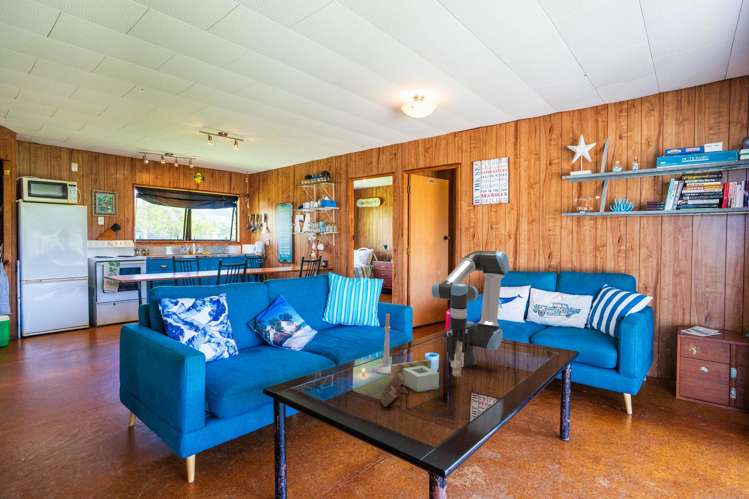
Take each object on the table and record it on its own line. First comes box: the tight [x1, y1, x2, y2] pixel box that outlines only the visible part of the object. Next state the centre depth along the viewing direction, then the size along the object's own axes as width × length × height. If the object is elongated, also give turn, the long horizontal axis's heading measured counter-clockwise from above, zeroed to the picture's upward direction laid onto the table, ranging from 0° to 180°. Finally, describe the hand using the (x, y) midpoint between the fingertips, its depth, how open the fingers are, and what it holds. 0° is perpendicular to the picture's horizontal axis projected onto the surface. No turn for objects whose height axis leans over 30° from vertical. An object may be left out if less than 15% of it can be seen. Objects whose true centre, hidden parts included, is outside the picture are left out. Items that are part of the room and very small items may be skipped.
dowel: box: [452, 340, 462, 378], centre depth 183 cm, size 4×4×16 cm
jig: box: [389, 358, 432, 382], centre depth 179 cm, size 22×21×10 cm
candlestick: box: [373, 313, 392, 375], centre depth 205 cm, size 13×13×30 cm
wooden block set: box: [380, 373, 409, 408], centre depth 167 cm, size 18×9×10 cm
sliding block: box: [401, 365, 440, 393], centre depth 181 cm, size 12×12×7 cm
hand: (457, 366), depth 184 cm, fingers closed on dowel, 4 cm apart
